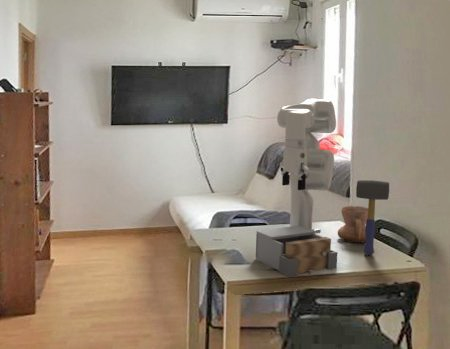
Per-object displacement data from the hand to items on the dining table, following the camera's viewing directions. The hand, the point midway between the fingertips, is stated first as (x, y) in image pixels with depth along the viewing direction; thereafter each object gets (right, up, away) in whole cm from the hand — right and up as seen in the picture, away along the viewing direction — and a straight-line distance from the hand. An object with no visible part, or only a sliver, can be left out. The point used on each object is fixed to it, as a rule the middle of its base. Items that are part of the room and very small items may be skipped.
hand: (293, 187), depth 219 cm
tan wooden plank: (+3, -30, -16) cm, 34 cm away
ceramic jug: (+30, -24, +25) cm, 46 cm away
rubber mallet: (+30, -27, +4) cm, 41 cm away
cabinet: (-1, -28, -9) cm, 30 cm away
